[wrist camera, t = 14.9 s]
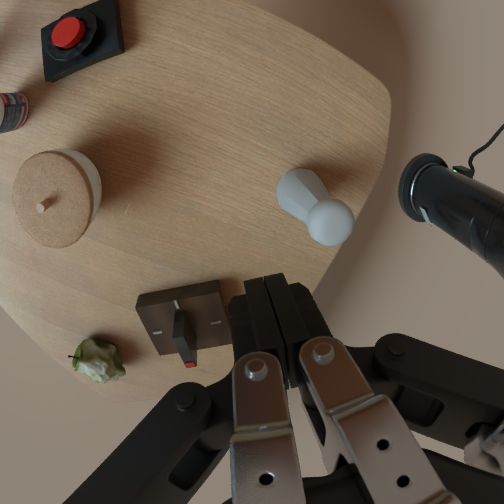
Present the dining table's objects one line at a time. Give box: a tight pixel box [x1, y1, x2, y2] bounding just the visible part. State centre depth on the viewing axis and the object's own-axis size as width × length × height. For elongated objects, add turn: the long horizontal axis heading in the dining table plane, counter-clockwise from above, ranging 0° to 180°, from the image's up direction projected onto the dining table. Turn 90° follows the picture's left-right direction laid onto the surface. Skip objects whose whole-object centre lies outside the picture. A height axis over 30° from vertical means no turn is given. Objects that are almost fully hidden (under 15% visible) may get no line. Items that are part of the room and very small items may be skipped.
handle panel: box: [135, 280, 232, 355], centre depth 41 cm, size 12×10×3 cm
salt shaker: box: [277, 168, 355, 247], centre depth 29 cm, size 6×6×13 cm
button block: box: [41, 0, 125, 82], centre depth 20 cm, size 10×8×4 cm
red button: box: [52, 17, 86, 49], centre depth 18 cm, size 4×4×2 cm
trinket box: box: [13, 149, 102, 248], centre depth 26 cm, size 11×11×9 cm
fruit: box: [68, 339, 126, 383], centre depth 41 cm, size 9×9×8 cm
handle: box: [172, 311, 197, 368], centre depth 37 cm, size 6×2×5 cm, turn 9°
